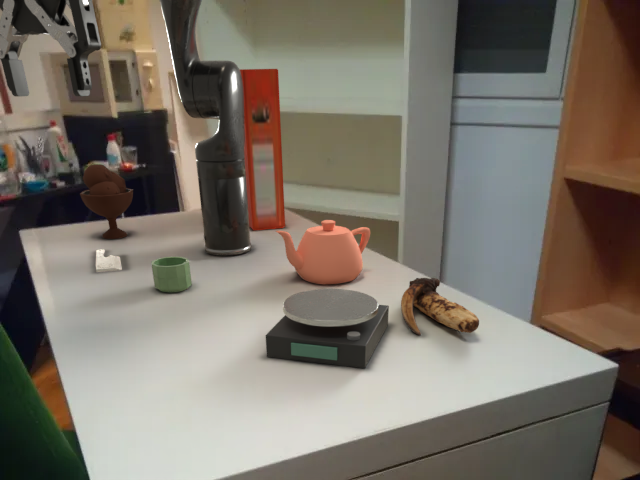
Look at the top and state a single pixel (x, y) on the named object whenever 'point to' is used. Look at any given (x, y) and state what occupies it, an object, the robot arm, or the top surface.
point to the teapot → (327, 253)
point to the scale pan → (330, 307)
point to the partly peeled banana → (435, 307)
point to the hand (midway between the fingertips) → (51, 96)
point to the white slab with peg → (107, 262)
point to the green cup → (171, 274)
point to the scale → (327, 341)
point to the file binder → (263, 149)
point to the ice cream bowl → (106, 197)
